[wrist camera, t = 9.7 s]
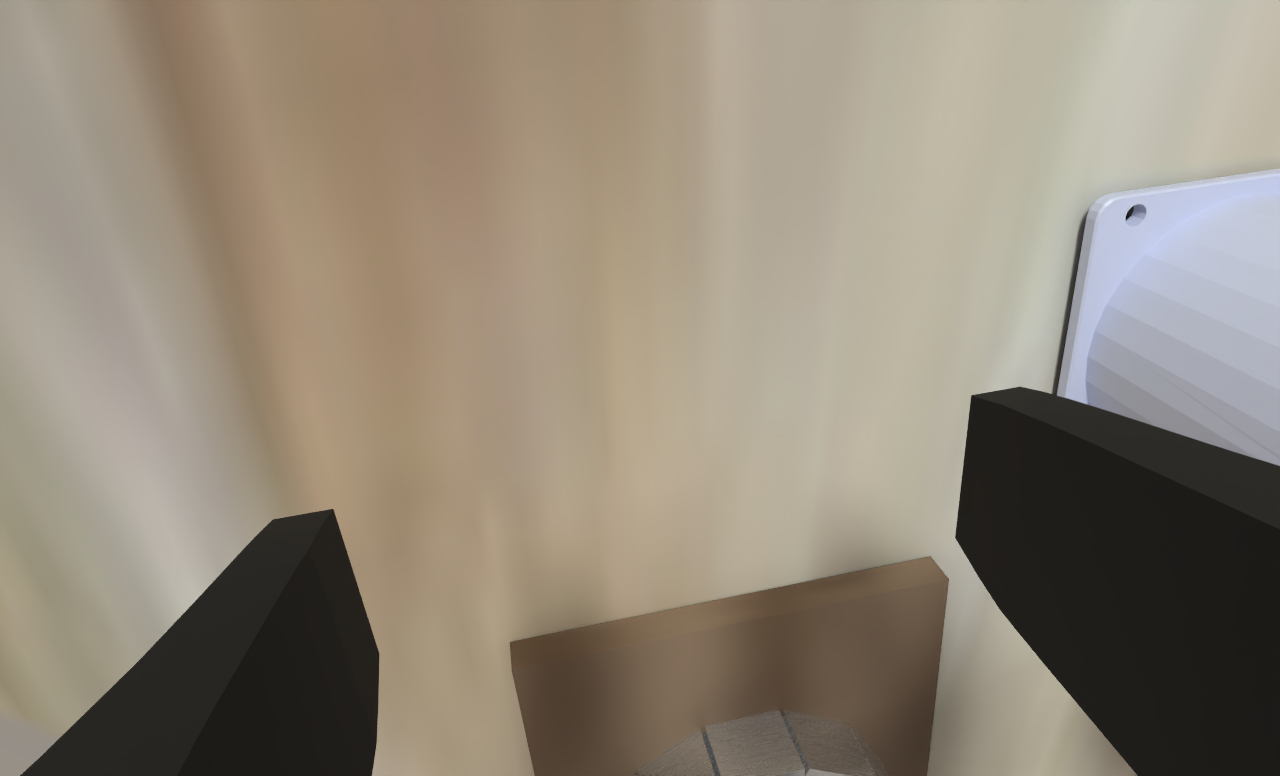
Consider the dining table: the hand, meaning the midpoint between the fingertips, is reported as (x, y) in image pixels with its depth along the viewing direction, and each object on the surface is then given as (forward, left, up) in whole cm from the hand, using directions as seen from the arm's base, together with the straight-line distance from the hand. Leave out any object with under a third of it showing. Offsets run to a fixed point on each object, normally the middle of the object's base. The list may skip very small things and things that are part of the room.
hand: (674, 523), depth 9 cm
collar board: (-3, +18, -9) cm, 21 cm away
